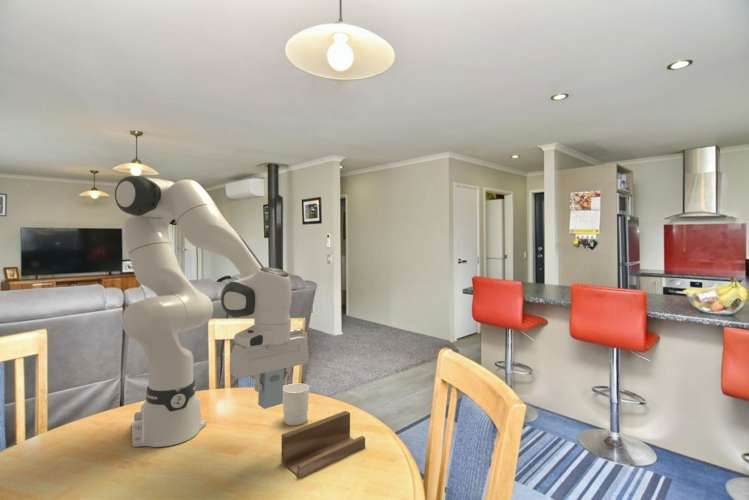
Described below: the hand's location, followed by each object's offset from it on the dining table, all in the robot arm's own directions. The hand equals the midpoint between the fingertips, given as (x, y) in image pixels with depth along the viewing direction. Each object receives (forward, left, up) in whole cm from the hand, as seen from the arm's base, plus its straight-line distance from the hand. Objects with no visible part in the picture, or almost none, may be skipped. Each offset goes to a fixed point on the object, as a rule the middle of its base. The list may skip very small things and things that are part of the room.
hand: (270, 387), depth 98 cm
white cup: (-13, +15, -17) cm, 26 cm away
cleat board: (+9, +10, -17) cm, 22 cm away
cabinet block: (0, 0, -4) cm, 4 cm away
